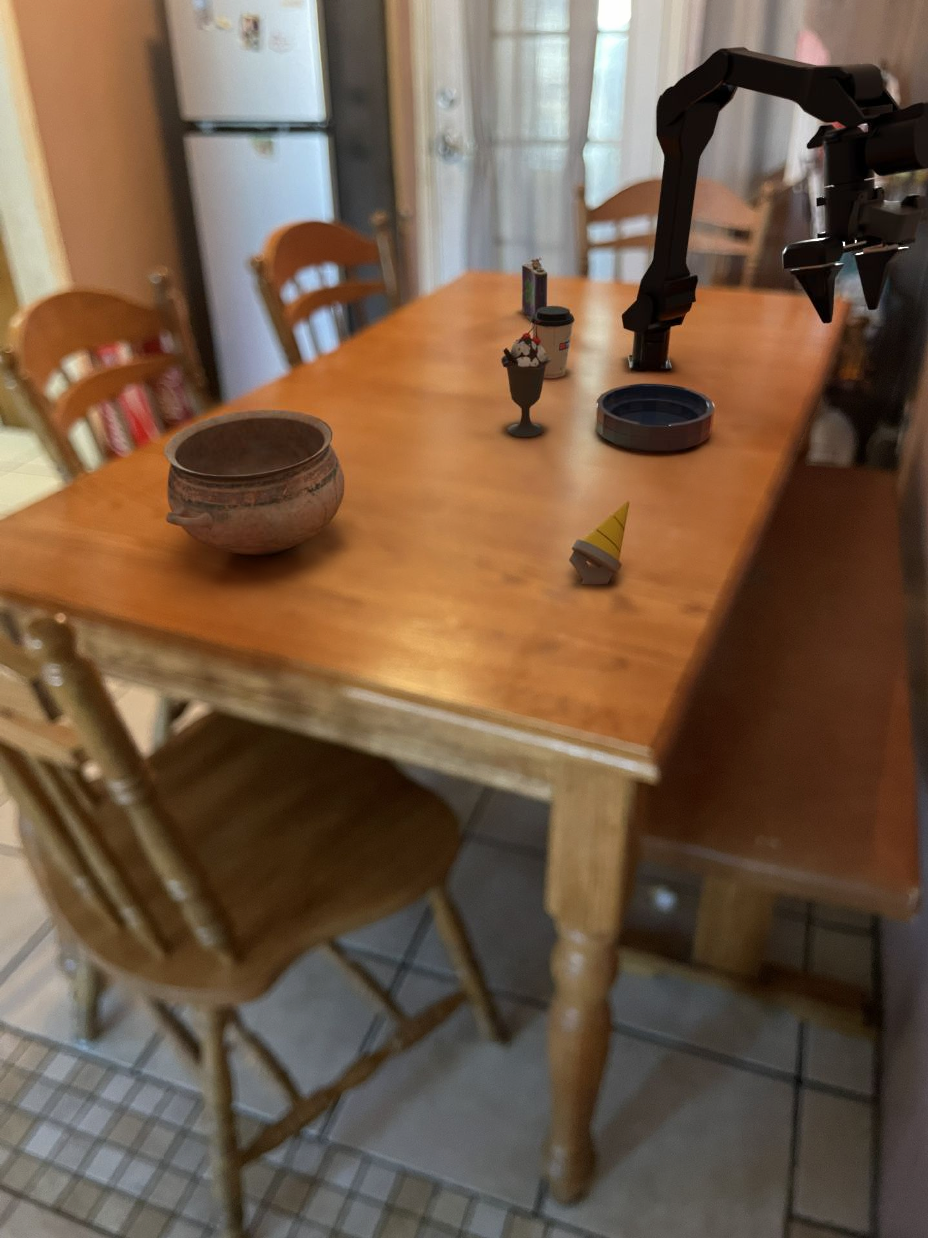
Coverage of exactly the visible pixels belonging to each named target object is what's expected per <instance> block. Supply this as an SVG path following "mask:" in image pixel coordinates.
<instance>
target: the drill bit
mask: <svg viewBox="0 0 928 1238" xmlns="http://www.w3.org/2000/svg"><path fill="white" fill-rule="evenodd" d="M629 508H630V500H629V501H626V502H625V503H624V504H622V505H621V506H620V507H619V508H618V509H617V510H615V511H614V512H612V514H611V515H609V517H607V518H606V519H605V520H603V521H602V522H601V523H600V524H599V525H598V526H596V527H595V529H593V530H592V531H590V532H589V533H588V534H587V535H586V536H584V537H583V538H582V539H576V540H575V541H574V543H573V545H572V547H571V551H573V552H572V553H571V555H570V557H569V559H568V561H569V563H570V564H571V565H572V566H573V568H574V569H575V571H576V572H577V573H578V575H579V576H580V577H581V579H582V581H581V583H580V585H608V583H609V581H610V580H611V578H612V576H613V574H614V575H617V574H618V573H619V571H620V570H621V568H622V566H623V564H622V563H621V561H620V558H621V553H622V547H623V541H624V536H625V529H626V526H627V525H626V524H627V519H628V513H629ZM588 563H589V564H591V565H592V566H595V567H597V568H593V567H591V566H589V564H588Z"/></svg>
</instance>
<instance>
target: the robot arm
mask: <svg viewBox="0 0 928 1238" xmlns="http://www.w3.org/2000/svg"><path fill="white" fill-rule="evenodd" d="M739 88H741V89H744V90H748V91H753V92H755V93H760V94H764V95H768V96H772V97H776V98H780V99H784V100H788V101H791V102H793V103H795V104H797V105H798V106H799V108H800V109H801V110H802V111H803V112H804V113H806V114H807V115H809V116H811V117H813V118H815V119H817V120H819V121H821V122H823V123H825V124H822V125H820V126H818V129H817V131H816V132H815V134H814V135H813V136H812V137H811V138H810V139H809V141H808V142H806V143H807V144H806V149H807V150H813V149H820V148H822V173H823V176H822V177H823V196H819V197H816V198H815V199H816V201H815V203H816V208H818V207H823V218H824V219H823V223H824V225H823V226H824V231H823V232H818V233H816V238H813V239H806V240H805V239H804V240H801V241H796V242H792V243H788V244H786V246H785V248H784V249H783V251H782V252H781V263H782V270H788V269H790V270H789V275H790V276H794V277H795V278H796V281H798V283H799V284H800V286H801V288H802V289H803V290H804V292H805V293H806V295H807V297H808V298H809V300H810V302H811V304H812V306H813V308H814V310H815V312H816V313H817V315H818V317H819V319H820V321H821V322H822V324H830V323H832V322H833V316H834V309H835V289H836V278H837V276H838V275H839V273H840V272H841V270H842V269H843V268H844V266H845V262H843V263H837V262H840V261H841V259H842V257H843V256H844V254H846V253H850V252H855V251H862V252H859V253H856V254H854V259H855V264H856V268H857V271H858V272H857V273H858V276H859V280H860V285H861V288H862V293H863V297H864V301H865V304H866V307H867V310H868V311H875V310H877V309H878V308H879V304H880V302H881V298H882V296H883V293H884V289H885V286H886V282H887V280H888V276H889V274H890V271H891V269H892V266H893V264H894V263H895V262H896V261H897V259H898V258H900V257H901V255H902V254H904V253H906V252H907V251H908V250H909V246H905V245H909V244H914V243H915V242H916V234H917V233H918V229H919V225H922V224H924V223H927V221H928V214H927V213H928V207H927V197H926V195H922V194H919V193H913V194H908V195H905V197H904V198H903V199H902V201H900V200H896V201H895V200H894V201H892V200H886V196H885V195H886V191H885V189H884V188H883V185H880V186H876V185H875V184H876V179H875V177H876V176H875V175H877V176H879V177H888V176H893V175H900V174H905V173H910V172H916V171H921V170H927V169H928V101H921V102H917V103H913V104H911V105H909V106H907V107H904V108H901V107H900V106H899V104H898V103H897V101H896V100H895V99H894V97H893V95H892V94H891V93H890V92H889V90H888V89H887V88H886V86H885V85H884V78H883V76H882V70H881V69H880V68H879V67H878V66H877V65H875V64H873V63H843V64H841V63H840V64H822V65H821V64H820V65H818V64H817V65H816V64H812V63H807V62H804V61H799V60H795V59H789V58H785V57H780V56H776V55H771V54H767V53H762V52H757V51H752V50H749V49H748V48H746V47H745V46H736V47H723V48H719V49H716V50H715V51H714V52H713V53H712V54H711V55H710V56H709V57H707V59H706V60H705V61H704V62H703V63H701V64H700V65H699V66H697V67H696V68H694V69H693V70H692V71H690V72H688V73H687V74H685V75H684V76H683V77H681V78H680V79H678V80H677V81H676V83H675V84H674V85H670V86H669V87H667V88H666V89H665V90H664V91H663V92H662V94H660V95H659V97H658V100H657V103H656V110H655V132H656V133H655V135H656V138H657V141H658V143H659V146H660V149H661V151H662V154H663V165H662V174H661V183H660V192H659V201H658V210H657V219H656V228H655V237H654V246H653V254H652V260H651V263H650V264H649V266H648V267H647V269H646V271H645V272H644V274H643V276H642V278H641V279H640V282H639V285H638V291H637V294H636V300H634V302H633V303H632V304H631V305H630V306H628V308H627V309H626V310H625V311H624V312H623V313H622V314H621V321H622V328H623V329H624V330H627V331H630V332H633V340H632V352H631V353H632V354H629V355H627V359H628V360H627V361H628V365H629V371H631V372H632V371H633V372H649V371H650V372H669V371H672V365H671V364H672V363H671V360H670V358H669V348H670V338H671V331H672V327H677V326H682V325H683V323H684V320H685V318H686V315H687V314H688V313H689V312H691V309H692V306H693V303H696V302H697V298H696V293H697V292H696V289H697V286H698V283H699V276H698V274H692V273H691V270H690V269H689V266H688V263H687V256H688V248H689V242H690V233H691V227H692V226H691V225H692V218H693V211H694V204H695V197H696V188H697V180H698V173H699V166H700V161H701V160H700V159H701V156H702V154H703V153H704V151H705V149H706V148H707V146H708V145H709V143H710V141H711V139H712V138H713V136H714V133H715V129H716V126H717V123H718V122H717V121H718V118H719V114H720V112H721V111H722V110H723V109H724V108H725V107H727V105H728V104H730V102H732V100H733V99H734V98H735V95H736V93H737V91H738V89H739ZM832 123H833V124H834V123H838V124H840V125H842V126H843V127H839V128H836V127H835V126H834V125H833V124H832ZM861 126H867V131H864V130H863V129H862V128H861ZM899 246H903V247H899Z"/></svg>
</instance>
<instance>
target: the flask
mask: <svg viewBox="0 0 928 1238" xmlns="http://www.w3.org/2000/svg"><path fill="white" fill-rule="evenodd" d="M542 259H543V258H541V257H539V258H531V259H530V261H531V263H530V262H527V263H523V264H521V282H522V283H521V313H522V314H523V315H525V316H526V317H527V318H528V319H530V318H531V316H532V314H534V313H537V310H538V309H539V308H541V307H545V306H548V272H547V271H546V270H545V269H544V268H543V266H542V264H541V263H540V261H542Z"/></svg>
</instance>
